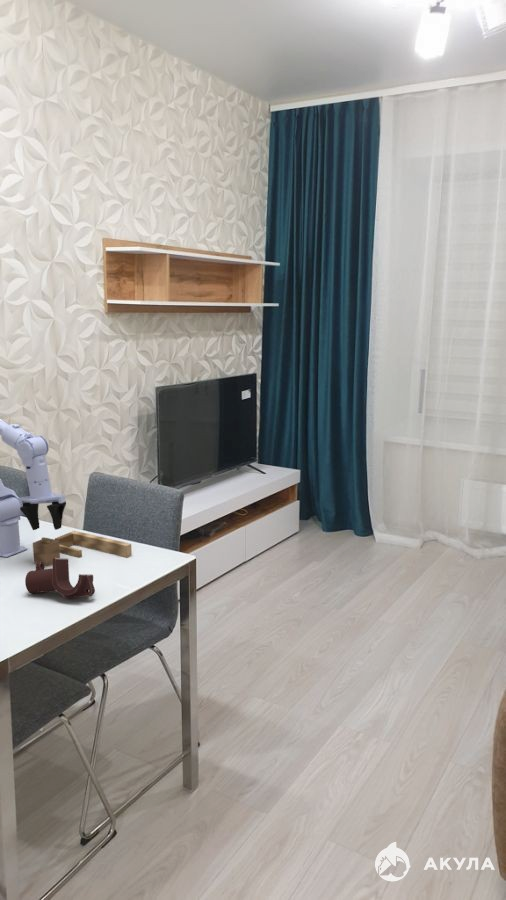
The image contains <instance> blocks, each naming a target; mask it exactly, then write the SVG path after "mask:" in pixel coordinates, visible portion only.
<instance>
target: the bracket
mask: <svg viewBox="0 0 506 900" xmlns="http://www.w3.org/2000/svg"><path fill="white" fill-rule="evenodd" d="M69 566H70V565H69V558H67V557H65V558H63V557H60V558H53V564H52V568H46V569H45V566H44V563H43V562H37V563H36V564H35V570H29V571H28V572H27V573H26V575H25V579H24V580H25V581H24V583H25V588H26V590H27V592H28V593H29V594H36V593H44V592H45V593H46V592H47V593H48V592H53V591H56V592H57V593H58V594H60V595H62V596H63V597H64V598H65V599H74V598H82V597H91V596H93V595H94V594H95V593H96V589H95V586H94V574H93V573H91V574H89V573H88V574H78V579H77V582H76V584H75V585H74V586H73V585H72V583H71V581H70V571H69V570H70V568H69Z"/></svg>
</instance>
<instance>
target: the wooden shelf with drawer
mask: <svg viewBox="0 0 506 900" xmlns="http://www.w3.org/2000/svg"><path fill="white" fill-rule="evenodd" d="M54 540H58V541H59V548H60V554H63V555H68V556H71V557H76V558H78V559H79V558H82V557H83V550H82V549H79V548H76V547H75V548H74V547H72V546H73V545H75V546H79V547H82V548H86V549H90V550H95V551H99V552H102V553H108V554H110V555H114V554H115V556H119V557H124V558H129V557H132V554H133V553H132V543H129V542H125V541H121V540H116V539H113V538H109V537H108V538H107V537H104V536H98V535H94V534H90V533H86V532H80V531H77V530H72V531H70V532H67V533H65V534H63V535H60V536H57V537H55V538H54Z"/></svg>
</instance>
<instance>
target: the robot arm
mask: <svg viewBox="0 0 506 900" xmlns="http://www.w3.org/2000/svg"><path fill="white" fill-rule="evenodd" d="M0 437H1V441H2V442H3V443H5V444H6V445H8V446H9V447H11V448H12V449H14V450H15V451H16V452H17V455H18V457H19V458H20V460H21V462H22V466H23V467H25V473H26V479H27V480H26V481H27V485H28V489H29V490H28V491H29V496H27V495H26V496H21V497H19V496H18V495H17V493H16V491H15V490H13V489H11V488H9V487H6V486H5V485H4V483H3V480H2V479H1V478H0V557H3V558H8V557H11V556H14V555H16V554H18V553H21V552H23V551H27V549H28V547H26V546H22V545H21V538H20V525H19V521H21V516H23V515H24V516H25V517H26V518H27V521H28V523H29V524H30V527H31V528H32V531H36V530H38V529H40V521H39V519H40V518H39V504H49V505H46V508H47V510H48V511H49V514H50V518H51V520H52V524H53V525H52V526H53V529H54V531H55V530H57V531H58V530H59V529H62V524H63V523H62V521H63V515H64V511H65V508H66V505H67V499H66V495H65V494H56V493H55V494H54V493H53V492H52V487H51V481H50V476H49V475H50V474H49V471H48V470H49V469H48V463H47V458H46V455H47V454H48V452H49V449H50V448H49V447H50V446H49V443H48V441H47V440H46V438H45V437H44V436H43V435H39V434H38V435H33V434H32V433H30V432H29V431H26V430H25V429H23V428H21V426H20V425H19V424H18V423H14V424H13V423H11V424H8V423H6V422H5V421H4V420H2V419H1V418H0Z"/></svg>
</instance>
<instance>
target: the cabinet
mask: <svg viewBox="0 0 506 900" xmlns="http://www.w3.org/2000/svg"><path fill="white" fill-rule="evenodd" d="M32 552H33V553H32V554H33V564H35V565H36V563H37V562H43V563H44V567H47V568H48V567H49V566H53V558H61V553H60V548H59V541H58V540H55V538H49V537H41V539H39V540H37V541H35V542H32Z"/></svg>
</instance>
